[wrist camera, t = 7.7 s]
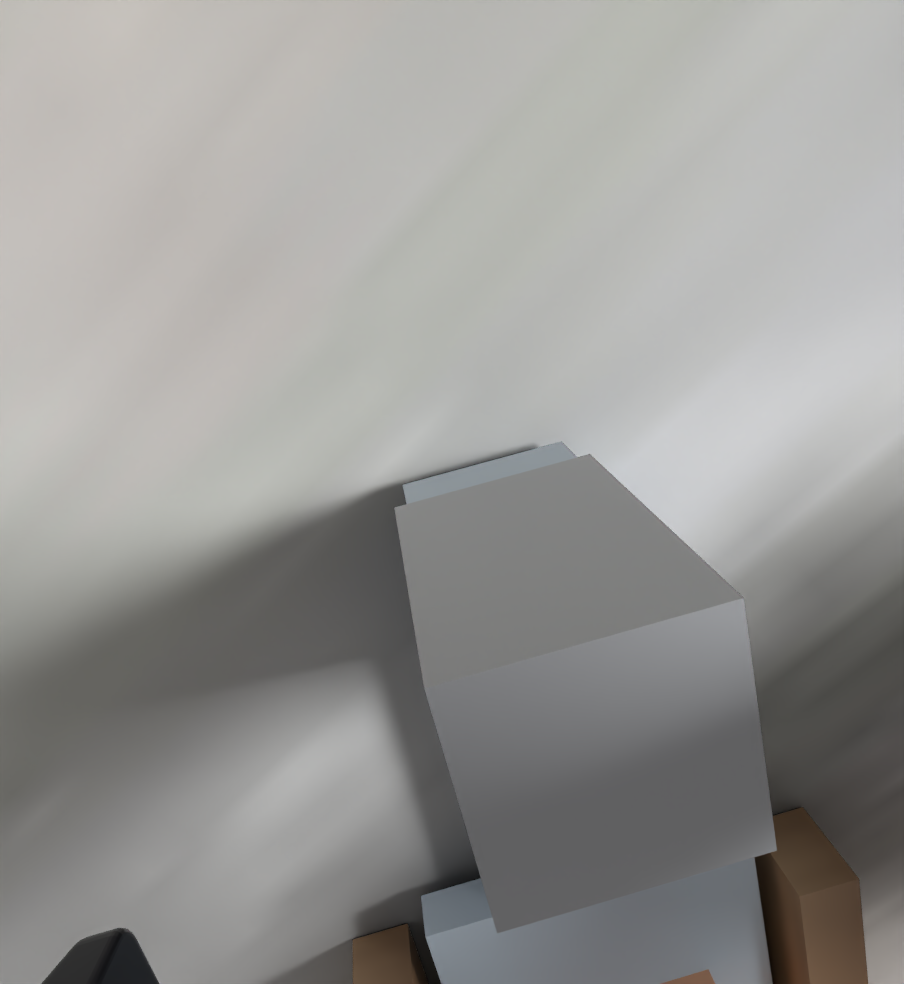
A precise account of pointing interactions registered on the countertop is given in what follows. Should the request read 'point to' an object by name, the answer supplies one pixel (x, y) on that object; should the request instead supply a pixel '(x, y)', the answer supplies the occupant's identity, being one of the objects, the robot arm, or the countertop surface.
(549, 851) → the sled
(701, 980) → the block
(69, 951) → the robot arm
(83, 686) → the countertop surface
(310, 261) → the countertop surface
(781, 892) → the tunnel channel
